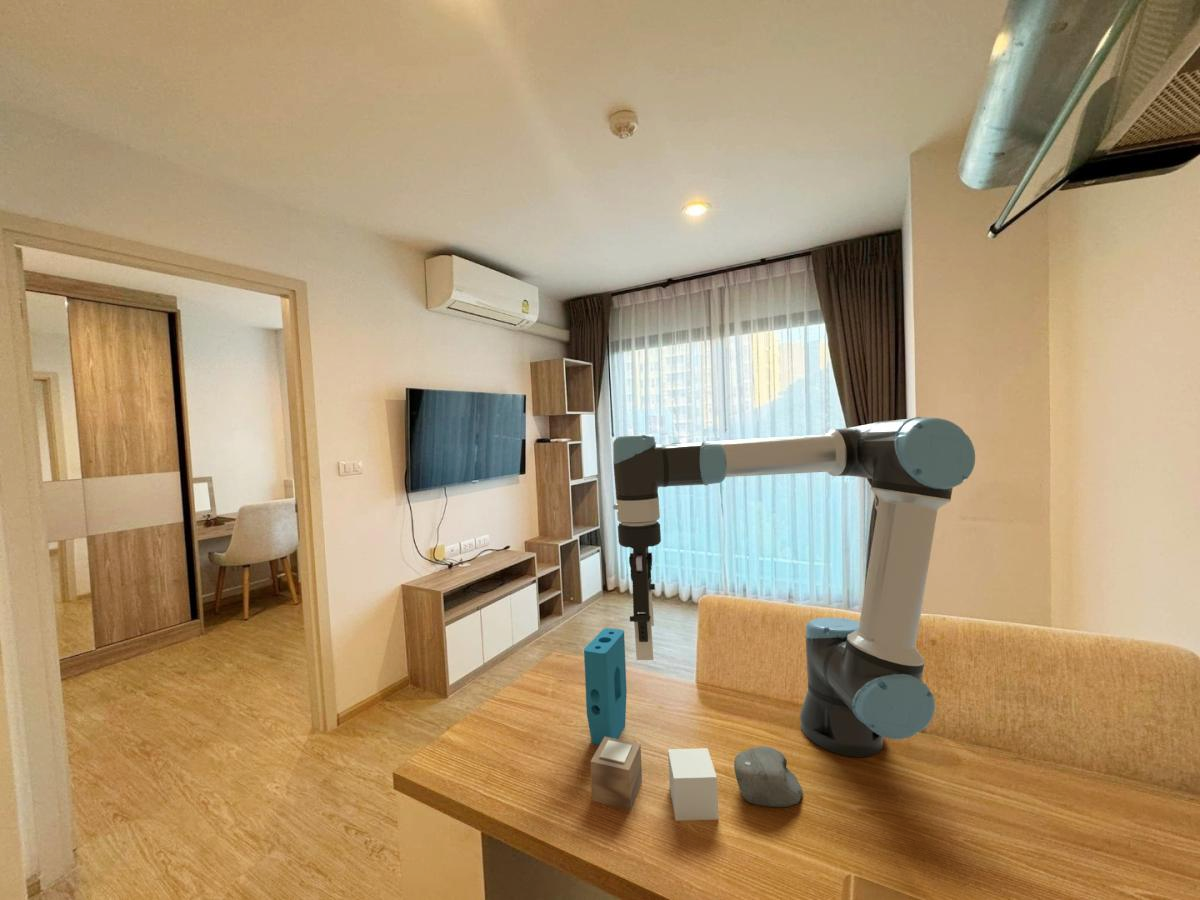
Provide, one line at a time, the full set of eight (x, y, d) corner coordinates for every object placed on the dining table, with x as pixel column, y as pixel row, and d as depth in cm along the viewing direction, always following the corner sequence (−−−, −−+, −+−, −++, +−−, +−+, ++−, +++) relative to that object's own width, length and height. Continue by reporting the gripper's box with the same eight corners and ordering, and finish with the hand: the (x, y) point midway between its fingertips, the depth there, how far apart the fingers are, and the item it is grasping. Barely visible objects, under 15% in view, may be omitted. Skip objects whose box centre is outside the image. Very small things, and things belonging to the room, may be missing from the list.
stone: (811, 818, 73) (778, 760, 74) (760, 836, 74) (729, 779, 75) (799, 778, 81) (770, 726, 82) (754, 795, 83) (726, 744, 84)
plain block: (709, 787, 80) (707, 748, 80) (718, 819, 73) (716, 777, 73) (669, 788, 80) (668, 749, 80) (675, 821, 73) (673, 778, 73)
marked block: (642, 781, 82) (640, 742, 82) (630, 811, 76) (628, 768, 76) (606, 773, 85) (604, 734, 85) (592, 801, 78) (590, 759, 78)
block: (609, 753, 90) (605, 654, 90) (586, 748, 92) (582, 650, 92) (629, 719, 101) (625, 630, 101) (608, 714, 103) (604, 627, 103)
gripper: (622, 512, 93) (629, 614, 93) (610, 537, 68) (619, 676, 68) (659, 510, 92) (665, 613, 92) (660, 535, 67) (669, 676, 67)
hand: (646, 641), depth 80 cm, fingers open, 13 cm apart
